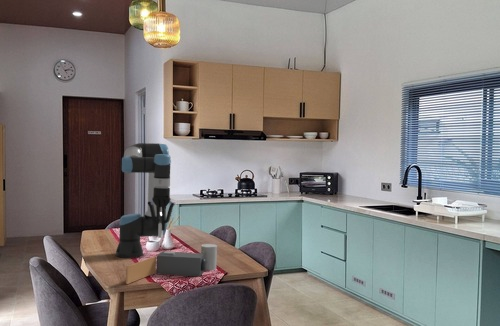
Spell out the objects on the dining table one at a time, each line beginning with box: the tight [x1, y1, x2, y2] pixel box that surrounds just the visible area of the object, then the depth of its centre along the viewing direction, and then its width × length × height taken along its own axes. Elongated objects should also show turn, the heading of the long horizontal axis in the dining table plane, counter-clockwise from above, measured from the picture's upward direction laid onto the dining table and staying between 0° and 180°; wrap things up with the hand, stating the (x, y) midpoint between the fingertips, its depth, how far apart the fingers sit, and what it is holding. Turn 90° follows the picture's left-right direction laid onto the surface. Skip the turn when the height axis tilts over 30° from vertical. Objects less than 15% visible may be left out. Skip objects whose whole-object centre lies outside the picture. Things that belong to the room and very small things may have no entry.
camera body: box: [155, 250, 207, 277], centre depth 235 cm, size 24×10×10 cm, turn 84°
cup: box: [200, 243, 218, 271], centre depth 245 cm, size 8×8×12 cm
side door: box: [125, 256, 157, 285], centre depth 222 cm, size 22×2×8 cm, turn 157°
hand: (160, 237), depth 221 cm, fingers closed
